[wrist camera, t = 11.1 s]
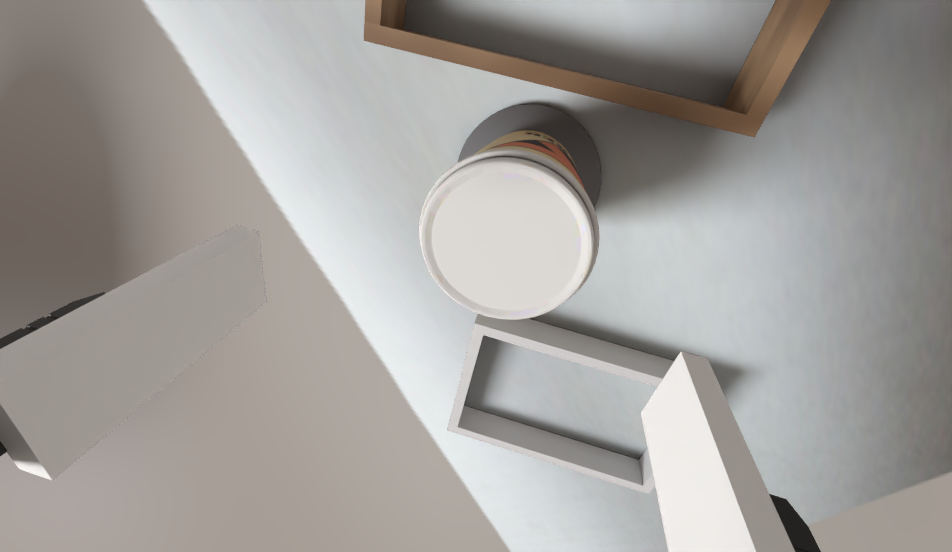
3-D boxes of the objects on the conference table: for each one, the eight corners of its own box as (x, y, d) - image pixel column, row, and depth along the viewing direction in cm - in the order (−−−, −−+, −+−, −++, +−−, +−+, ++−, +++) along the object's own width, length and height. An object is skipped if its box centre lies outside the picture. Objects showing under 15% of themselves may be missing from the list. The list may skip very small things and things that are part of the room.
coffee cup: (615, 184, 29) (642, 256, 18) (523, 259, 33) (503, 351, 23) (527, 86, 27) (502, 106, 16) (442, 181, 31) (380, 242, 21)
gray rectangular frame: (481, 304, 37) (474, 323, 34) (713, 372, 35) (725, 397, 33) (453, 408, 45) (446, 430, 42) (643, 468, 43) (648, 494, 41)
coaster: (472, 87, 28) (471, 88, 27) (624, 125, 27) (625, 126, 27) (447, 225, 34) (445, 228, 33) (572, 260, 33) (572, 263, 32)
